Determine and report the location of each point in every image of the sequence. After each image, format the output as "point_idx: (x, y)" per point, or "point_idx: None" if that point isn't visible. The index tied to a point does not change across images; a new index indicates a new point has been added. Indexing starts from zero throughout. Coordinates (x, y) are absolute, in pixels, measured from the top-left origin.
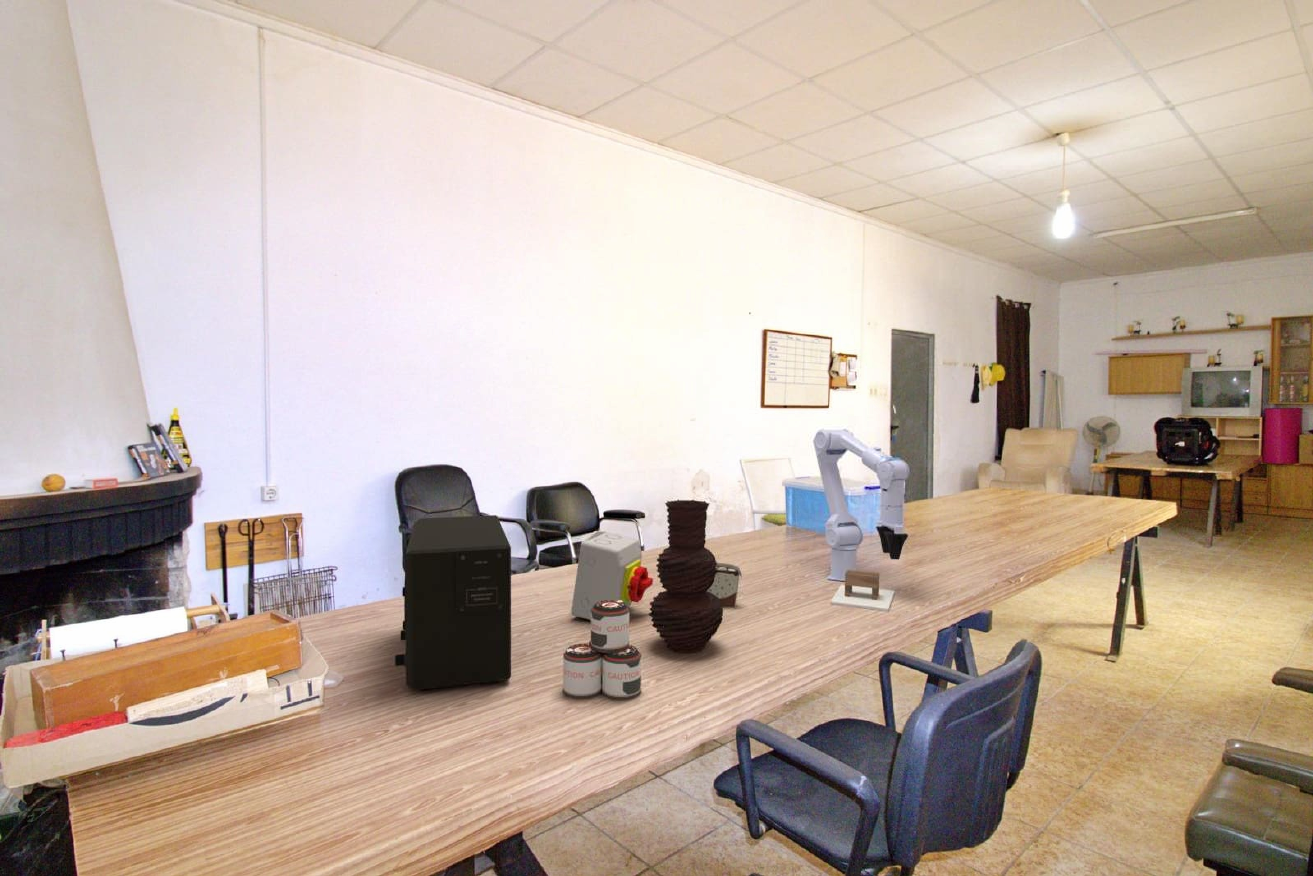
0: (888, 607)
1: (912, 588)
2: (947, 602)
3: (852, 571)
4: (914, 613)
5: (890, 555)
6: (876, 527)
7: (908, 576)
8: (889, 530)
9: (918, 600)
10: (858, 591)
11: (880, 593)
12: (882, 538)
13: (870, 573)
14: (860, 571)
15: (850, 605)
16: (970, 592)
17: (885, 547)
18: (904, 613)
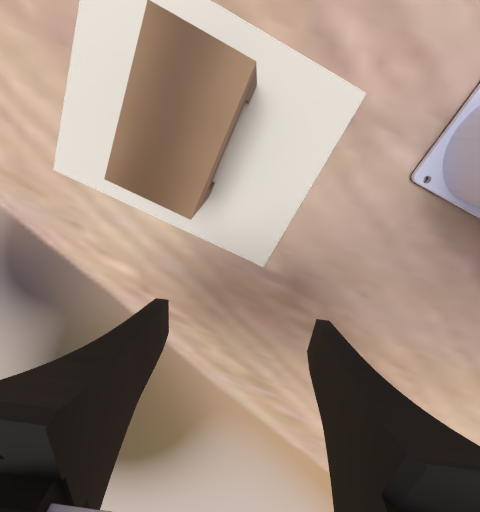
0: (69, 176)
1: (310, 328)
2: (179, 350)
3: (207, 76)
4: (61, 238)
5: (145, 307)
6: (461, 466)
7: (438, 367)
8: (357, 504)
9: (190, 296)
10: (257, 136)
11: (231, 211)
12: (349, 387)
13: (171, 170)
14: (210, 129)
15: (78, 35)
16: (264, 421)
17: (322, 350)
18: (53, 210)
